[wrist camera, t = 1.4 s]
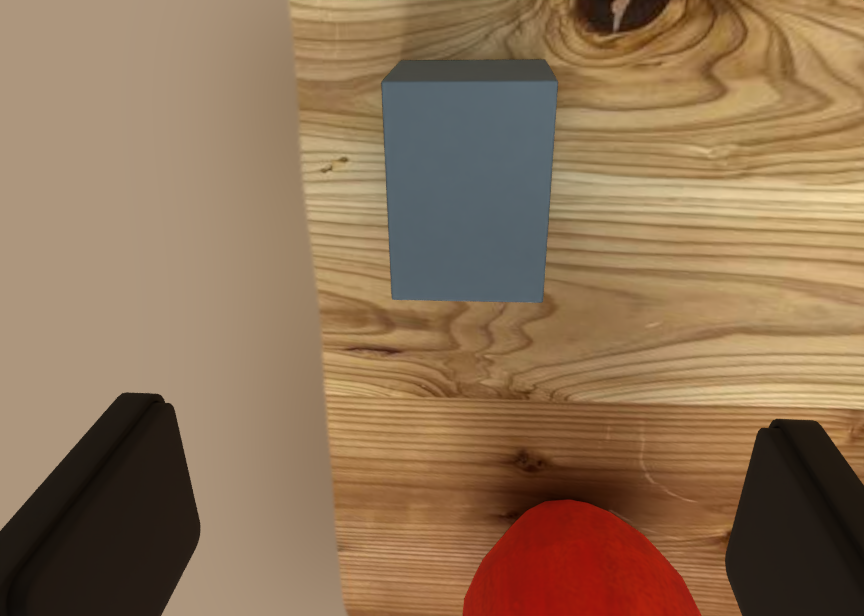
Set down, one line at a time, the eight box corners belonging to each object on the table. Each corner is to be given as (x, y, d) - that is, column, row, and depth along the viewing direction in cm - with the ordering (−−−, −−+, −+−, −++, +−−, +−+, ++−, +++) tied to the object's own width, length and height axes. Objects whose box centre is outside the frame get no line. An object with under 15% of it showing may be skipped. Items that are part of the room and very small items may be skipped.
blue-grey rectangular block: (534, 250, 26) (543, 303, 22) (406, 249, 26) (391, 300, 22) (545, 59, 23) (558, 80, 19) (399, 60, 23) (381, 81, 19)
